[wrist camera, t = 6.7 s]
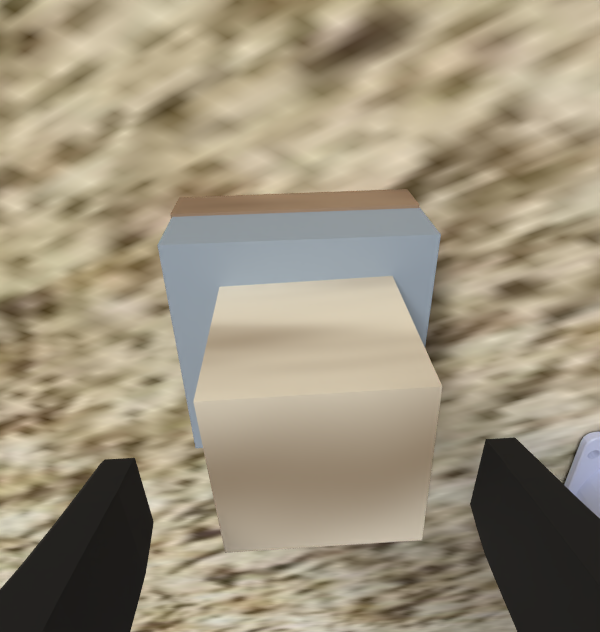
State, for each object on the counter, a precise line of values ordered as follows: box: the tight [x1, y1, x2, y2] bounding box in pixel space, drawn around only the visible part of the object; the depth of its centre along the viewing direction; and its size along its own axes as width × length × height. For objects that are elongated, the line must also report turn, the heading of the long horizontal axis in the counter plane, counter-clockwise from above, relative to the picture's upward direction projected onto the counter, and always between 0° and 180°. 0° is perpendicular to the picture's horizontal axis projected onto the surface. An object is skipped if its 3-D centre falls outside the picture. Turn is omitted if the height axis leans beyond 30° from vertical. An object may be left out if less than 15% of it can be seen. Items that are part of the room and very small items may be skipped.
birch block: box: [193, 276, 442, 553], centre depth 12 cm, size 4×4×4 cm
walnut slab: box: [171, 189, 419, 218], centre depth 16 cm, size 7×7×2 cm
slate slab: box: [158, 208, 441, 448], centre depth 15 cm, size 7×7×2 cm
